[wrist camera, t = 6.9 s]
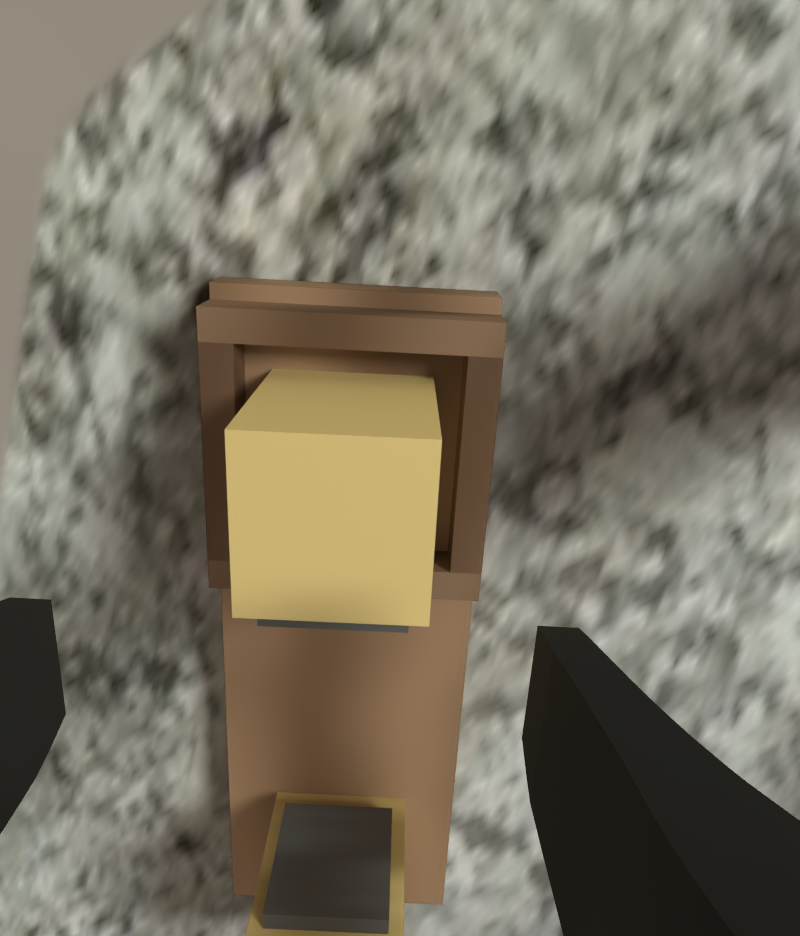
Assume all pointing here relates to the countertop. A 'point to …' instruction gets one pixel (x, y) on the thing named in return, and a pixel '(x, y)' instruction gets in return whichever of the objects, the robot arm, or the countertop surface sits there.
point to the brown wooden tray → (346, 651)
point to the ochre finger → (334, 501)
